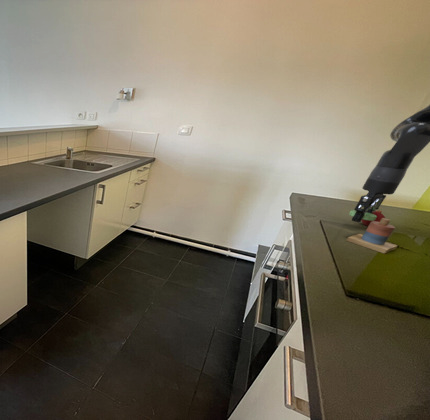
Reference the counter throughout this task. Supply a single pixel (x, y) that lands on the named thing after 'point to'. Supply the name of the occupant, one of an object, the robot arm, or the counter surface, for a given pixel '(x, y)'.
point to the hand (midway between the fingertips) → (359, 220)
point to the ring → (367, 215)
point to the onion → (378, 219)
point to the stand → (375, 236)
